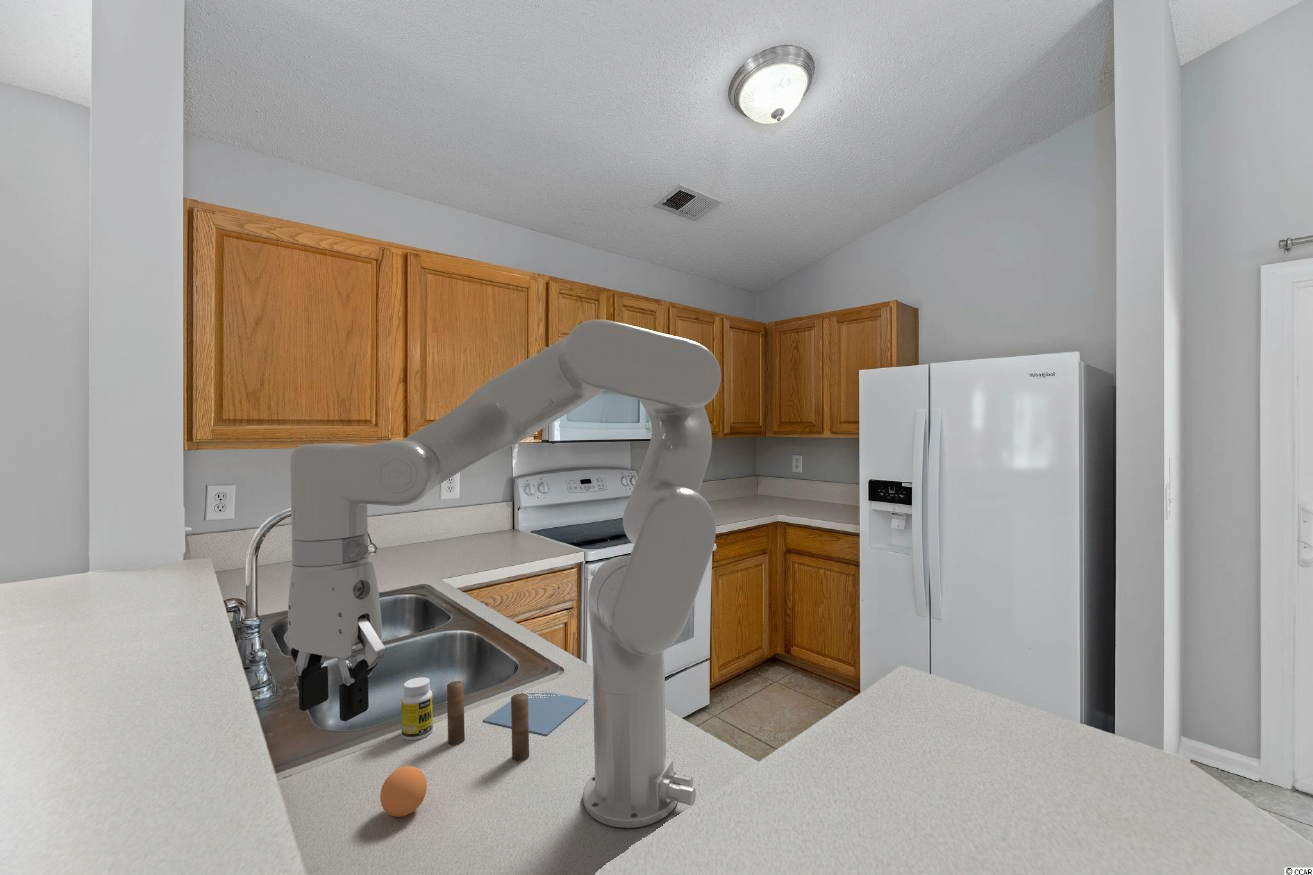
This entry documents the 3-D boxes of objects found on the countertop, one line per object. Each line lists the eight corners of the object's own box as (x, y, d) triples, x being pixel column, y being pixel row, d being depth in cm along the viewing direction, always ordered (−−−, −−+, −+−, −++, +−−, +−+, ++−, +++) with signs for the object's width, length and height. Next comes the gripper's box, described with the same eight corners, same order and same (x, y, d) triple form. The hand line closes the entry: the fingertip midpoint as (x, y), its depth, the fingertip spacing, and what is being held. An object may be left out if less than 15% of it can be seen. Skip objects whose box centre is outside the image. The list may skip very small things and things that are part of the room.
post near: (532, 753, 85) (531, 694, 85) (522, 762, 83) (521, 701, 83) (519, 750, 86) (517, 692, 86) (508, 759, 84) (507, 699, 84)
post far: (468, 738, 90) (466, 682, 90) (456, 746, 88) (455, 688, 88) (456, 735, 91) (454, 679, 91) (444, 743, 89) (443, 686, 89)
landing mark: (587, 700, 102) (587, 699, 102) (546, 735, 90) (546, 734, 90) (528, 689, 107) (528, 688, 107) (482, 721, 96) (482, 720, 96)
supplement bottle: (421, 742, 89) (420, 689, 89) (395, 739, 90) (394, 687, 90) (438, 727, 94) (438, 676, 94) (413, 724, 95) (412, 675, 95)
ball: (436, 804, 74) (435, 762, 74) (402, 831, 69) (401, 786, 69) (405, 794, 76) (405, 754, 76) (370, 820, 71) (369, 776, 71)
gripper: (413, 550, 64) (416, 708, 64) (311, 541, 71) (314, 685, 71) (355, 563, 57) (358, 741, 57) (248, 553, 64) (251, 712, 64)
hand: (333, 708), depth 64 cm, fingers open, 5 cm apart
